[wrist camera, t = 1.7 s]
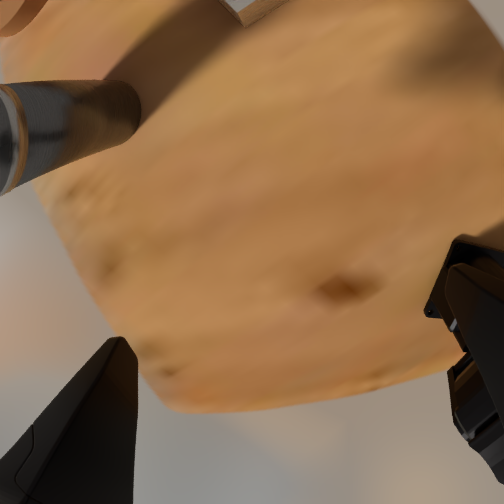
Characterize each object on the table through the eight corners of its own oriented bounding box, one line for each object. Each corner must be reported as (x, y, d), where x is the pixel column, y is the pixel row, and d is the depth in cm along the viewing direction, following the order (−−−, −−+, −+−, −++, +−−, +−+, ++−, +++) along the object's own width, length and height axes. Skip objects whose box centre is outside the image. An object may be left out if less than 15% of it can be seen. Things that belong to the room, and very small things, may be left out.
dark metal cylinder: (144, 78, 16) (10, 76, 6) (139, 148, 18) (15, 207, 8) (85, 82, 16) (-50, 96, 6) (83, 146, 18) (-44, 200, 8)
